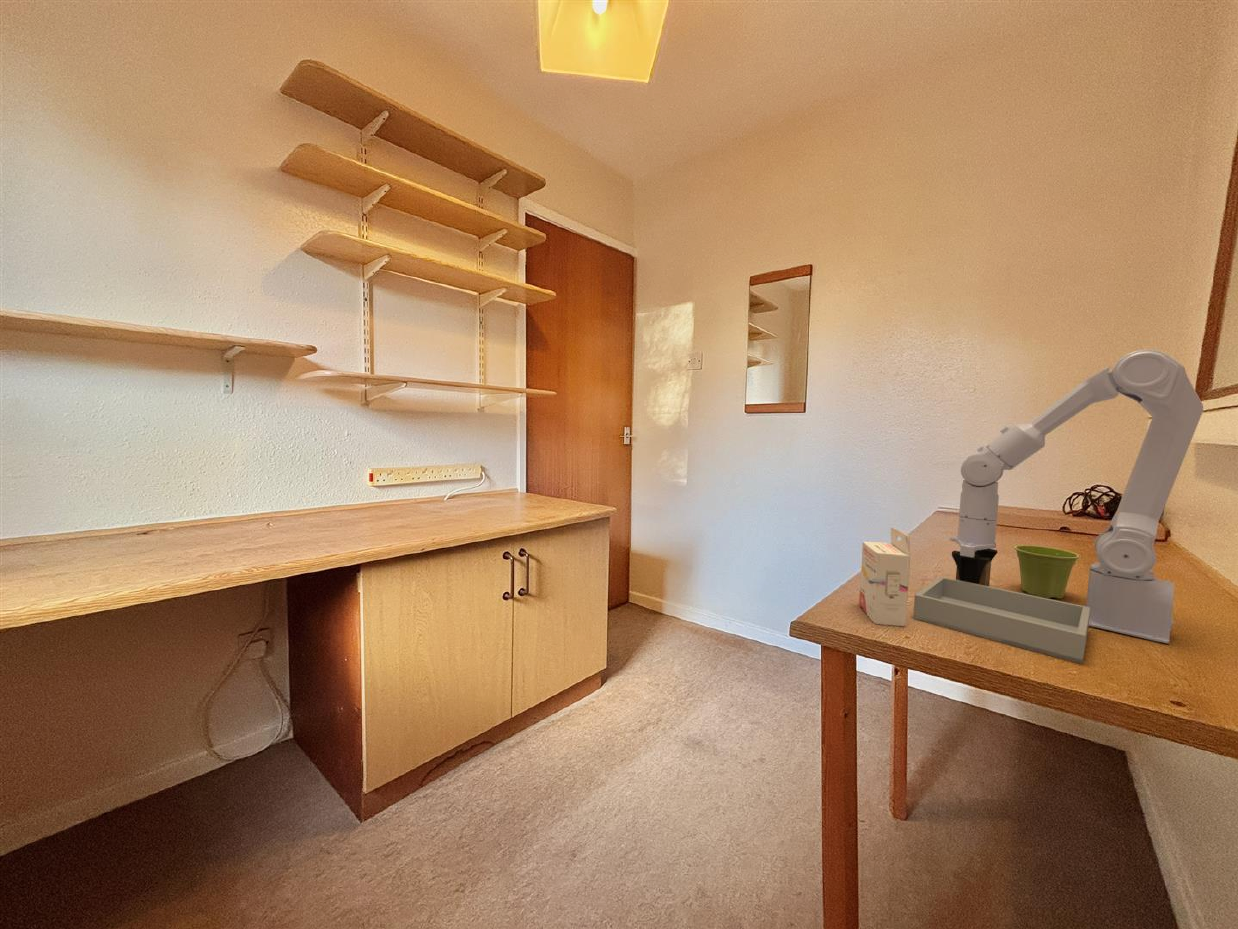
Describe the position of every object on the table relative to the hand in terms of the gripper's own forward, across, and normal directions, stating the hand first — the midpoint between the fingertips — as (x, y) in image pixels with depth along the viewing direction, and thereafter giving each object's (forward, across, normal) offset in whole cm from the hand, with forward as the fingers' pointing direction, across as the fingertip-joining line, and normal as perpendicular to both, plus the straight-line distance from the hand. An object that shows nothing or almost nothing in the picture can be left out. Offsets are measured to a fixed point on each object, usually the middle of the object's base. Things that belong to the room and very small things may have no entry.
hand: (972, 587), depth 89 cm
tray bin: (+2, +14, +6) cm, 15 cm away
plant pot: (+2, -13, +9) cm, 16 cm away
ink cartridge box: (+2, +25, -8) cm, 26 cm away
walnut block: (+2, 0, 0) cm, 2 cm away
